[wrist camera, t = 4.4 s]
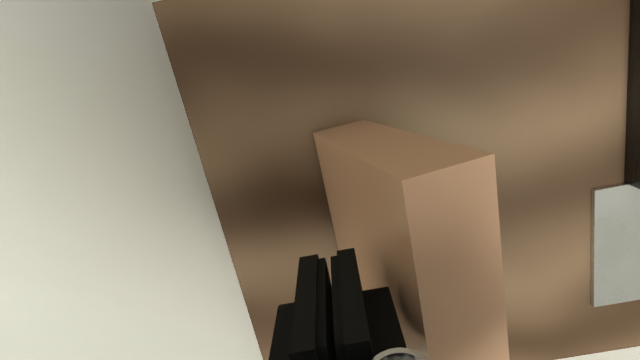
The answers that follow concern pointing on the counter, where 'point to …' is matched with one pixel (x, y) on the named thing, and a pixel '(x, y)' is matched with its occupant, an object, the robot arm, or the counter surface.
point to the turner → (620, 202)
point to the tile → (421, 233)
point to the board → (418, 117)
